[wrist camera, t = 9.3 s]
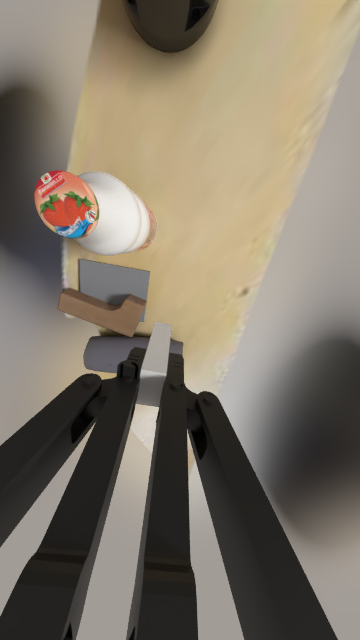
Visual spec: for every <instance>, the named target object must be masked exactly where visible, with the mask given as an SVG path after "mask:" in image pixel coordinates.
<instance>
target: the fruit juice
mask: <svg viewBox="0 0 360 640" xmlns="http://www.w3.org/2000/svg"><path fill="white" fill-rule="evenodd" d="M34 198H35V205H36V209H37V211H38V214H39V216H40V217H41V219H42V220H43V222H44V223H45V224H46V225H47V226H48V227H49V228H50V229H51V230H52V231H54V232H55V233H57V234H59V235H61V236H64V237H67V238H73V239H75V240H76V241H77V242H78V243H79V244H80V245H82V246H83V247H84V248H86V249H87V250H89V251H91V252H93V253H96V254H99V255H107V256H110V255H118V254H124V253H130V252H133V251H137V250H141V249H144V248H146V247H148V246H149V245H150V244H151V243H152V242H153V241H154V239H155V237H156V234H157V220H156V217H155V215H154V213H153V211H152V210H151V209H150V208H149V207H148V206H147V205H146V204H145V202H144V201H143V200H142V199H141V198H140V197H139V196H138V195H137V194H136V193H135V192H133V191H132V190H130V189H129V188H128V187H127V186H126V185H125V184H124V183H123V182H122V181H120V180H119V179H117V178H116V177H114V176H112V175H110V174H107V173H104V172H99V171H90V172H85V173H82V174H80V175H78V176H76V175H74V174H71V173H69V172H65V171H51V172H48V173H46V174H44V175H43V176H42V177H41V178H40V179H39V181H38V183H37V185H36V188H35V197H34Z"/></svg>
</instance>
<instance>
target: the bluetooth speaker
mask: <svg viewBox="0 0 360 640" xmlns="http://www.w3.org/2000/svg"><path fill="white" fill-rule="evenodd" d="M149 341H150V338H146V337H133V336H132V337H125V336H95V337H91V338H90V339H89V341H88V343H87V346H86V349H85V352H84V365H85V367H86V369H89V370H94V371H100V372H109V373H117V366H118V364H119V363H120V362H122V361H125V360H127V358H128V355H129V353H130V351H131V350H132V349H133V348H134V347H139V348H145V349H147V348H148V344H149ZM182 350H183V342H179V341H173V340H170V347H169V352H170V353H176V354H181V355H182ZM182 357H183V355H182Z"/></svg>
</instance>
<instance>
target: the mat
mask: <svg viewBox="0 0 360 640" xmlns="http://www.w3.org/2000/svg"><path fill="white" fill-rule="evenodd" d="M149 275H150V271H144V270H139V269H133V268H128V267H122V266H117V265H111V264H106V263H100V262H95V261H90V260H84V259H80V292H81V293H84V294H86V295H89V296H91V297H94V298H96V299H99V300H101V301H104V302H106V303H109V304H113V305H120V304H122V303H123V302H124V300H125V299H126V298H127V297H128V295H130V294H132V295H134V296H137V297H139V298H141V299H144V300H146V301H147V292H148V283H149ZM145 309H146V305H145V308H144V310H143V313H142V315H141V318H140V322H144V318H145Z"/></svg>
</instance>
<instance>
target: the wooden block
mask: <svg viewBox="0 0 360 640" xmlns="http://www.w3.org/2000/svg"><path fill="white" fill-rule="evenodd" d="M146 303H147V301H146V300H144V299H141V298H139V297H137V296H134V295H132V294H130V295H128V297H127V298H126V299H125V300H124V302H123V303H122V304H120V305H113V304H109V303H106V302H104V301H101V300H99V299H96V298H94V297H91V296H89V295H86V294H84V293H81V292H79V291H76V290H74V289H68V290H66V291H64V292H62V293H61V294H60V299H59V304H58V310H60V311H62V312H65V313H68V314H70V315H73V316H76V317H78V318H81V319H83V320H86V321H89V322H91V323H94V324H97V325H99V326H102V327H105V328H107V329H110V330H112V331H115V332H118V333H120V334H123V335H126V336H128V337H132V336H133V335H134V333H135V330H136V328H137V326H138V323H139V321H140V318H141V315H142V313H143V310H144V308H145V305H146Z"/></svg>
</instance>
